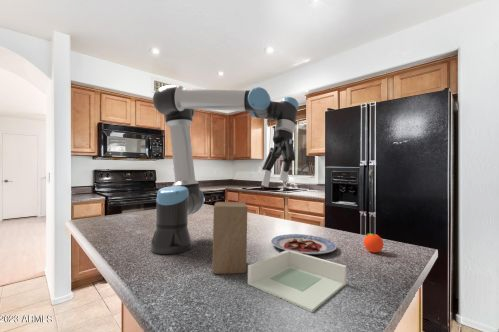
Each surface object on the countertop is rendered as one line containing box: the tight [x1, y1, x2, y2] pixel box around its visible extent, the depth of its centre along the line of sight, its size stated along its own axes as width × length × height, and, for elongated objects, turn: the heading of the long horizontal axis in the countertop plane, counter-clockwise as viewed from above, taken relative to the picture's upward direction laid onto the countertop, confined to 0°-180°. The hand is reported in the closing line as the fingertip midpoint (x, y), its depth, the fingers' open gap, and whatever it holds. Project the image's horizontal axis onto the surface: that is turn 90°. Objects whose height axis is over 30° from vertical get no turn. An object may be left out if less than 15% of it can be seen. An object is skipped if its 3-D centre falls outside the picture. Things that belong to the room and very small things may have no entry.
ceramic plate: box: [270, 233, 338, 255], centre depth 101 cm, size 26×26×3 cm
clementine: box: [361, 233, 384, 254], centre depth 98 cm, size 8×7×7 cm
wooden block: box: [211, 201, 248, 275], centre depth 79 cm, size 10×10×20 cm
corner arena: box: [247, 250, 347, 313], centre depth 68 cm, size 19×19×5 cm
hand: (273, 183), depth 93 cm, fingers open, 13 cm apart
